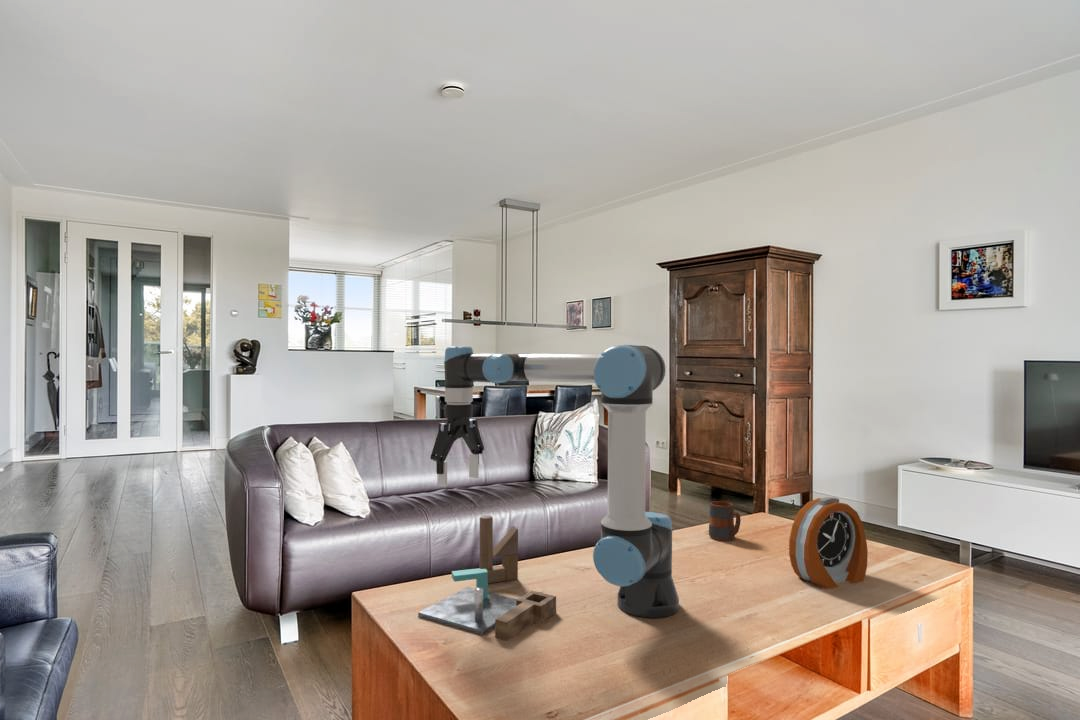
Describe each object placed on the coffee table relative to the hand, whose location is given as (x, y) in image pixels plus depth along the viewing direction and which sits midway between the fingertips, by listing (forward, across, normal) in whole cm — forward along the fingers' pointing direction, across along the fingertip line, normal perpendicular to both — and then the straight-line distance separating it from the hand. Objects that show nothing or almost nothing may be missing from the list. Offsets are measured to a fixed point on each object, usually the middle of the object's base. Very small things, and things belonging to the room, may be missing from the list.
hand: (458, 481), depth 169 cm
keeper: (+28, +8, +10) cm, 31 cm away
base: (+28, +12, +14) cm, 34 cm away
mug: (+28, -80, +51) cm, 99 cm away
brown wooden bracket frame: (+28, -8, +7) cm, 30 cm away
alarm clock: (+28, -57, +86) cm, 107 cm away
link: (+28, +11, +28) cm, 41 cm away
